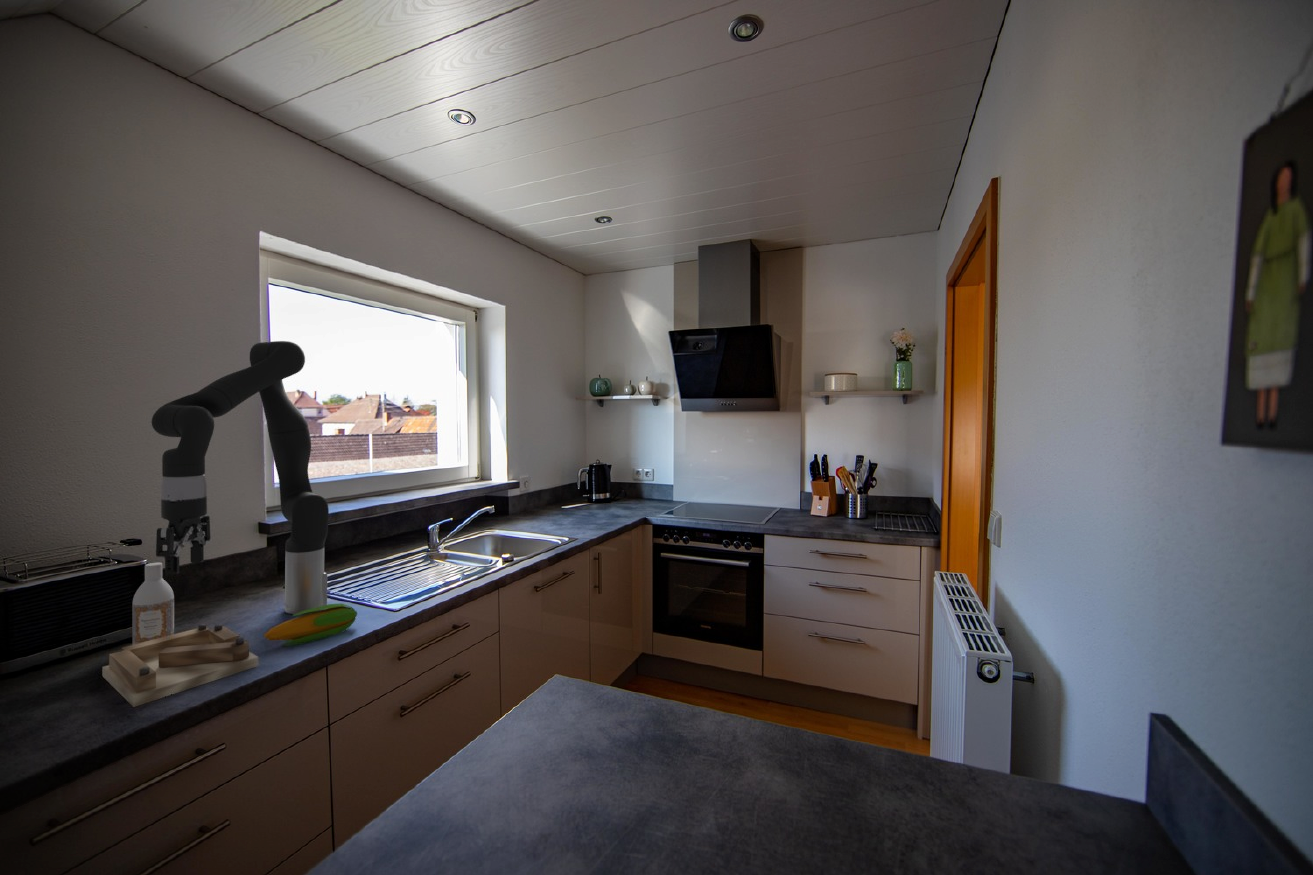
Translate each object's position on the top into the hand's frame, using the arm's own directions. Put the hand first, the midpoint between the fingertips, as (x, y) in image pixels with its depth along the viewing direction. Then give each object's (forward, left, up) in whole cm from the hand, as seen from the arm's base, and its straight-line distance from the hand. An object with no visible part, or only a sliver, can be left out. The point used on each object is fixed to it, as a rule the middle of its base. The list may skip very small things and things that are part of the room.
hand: (185, 567), depth 116 cm
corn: (-22, +10, -21) cm, 32 cm away
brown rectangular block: (-1, +9, -19) cm, 21 cm away
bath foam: (+2, -12, -21) cm, 24 cm away
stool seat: (+2, +6, -21) cm, 22 cm away
